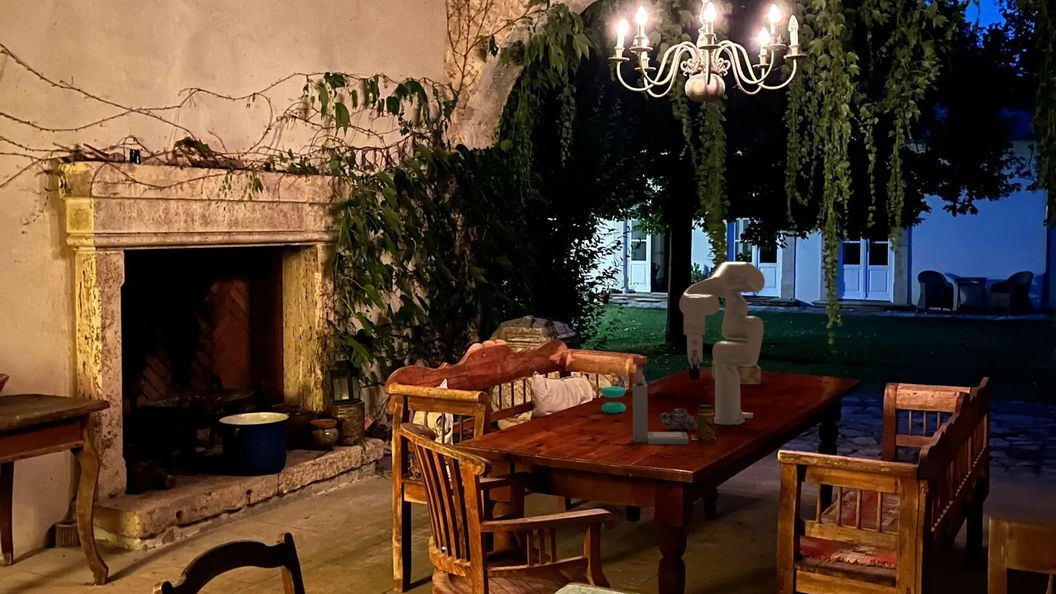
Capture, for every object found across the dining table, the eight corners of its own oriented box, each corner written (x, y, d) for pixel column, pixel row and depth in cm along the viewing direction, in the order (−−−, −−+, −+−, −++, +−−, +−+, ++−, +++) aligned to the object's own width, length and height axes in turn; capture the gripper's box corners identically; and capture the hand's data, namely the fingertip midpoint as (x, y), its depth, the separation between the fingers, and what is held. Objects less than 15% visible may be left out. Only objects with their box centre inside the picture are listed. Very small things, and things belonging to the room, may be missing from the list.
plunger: (646, 391, 373) (646, 355, 372) (647, 394, 368) (647, 357, 367) (632, 391, 374) (632, 355, 373) (633, 394, 369) (632, 357, 368)
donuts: (627, 386, 435) (623, 389, 426) (627, 409, 436) (623, 414, 426) (603, 385, 438) (599, 389, 428) (603, 409, 438) (599, 413, 429)
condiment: (716, 440, 371) (716, 406, 370) (691, 440, 372) (691, 406, 371) (714, 436, 378) (714, 403, 378) (690, 436, 379) (690, 403, 378)
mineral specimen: (655, 420, 391) (671, 398, 391) (665, 424, 399) (680, 403, 398) (680, 438, 384) (696, 416, 384) (689, 443, 392) (704, 421, 392)
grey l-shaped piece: (686, 437, 377) (685, 382, 375) (688, 444, 365) (688, 387, 363) (633, 437, 378) (632, 382, 377) (633, 444, 366) (633, 387, 365)
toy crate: (752, 378, 522) (752, 360, 521) (760, 387, 493) (760, 368, 492) (711, 378, 523) (711, 360, 523) (717, 387, 495) (717, 368, 494)
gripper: (706, 332, 366) (706, 381, 367) (703, 328, 384) (703, 375, 384) (684, 332, 367) (684, 381, 368) (682, 328, 384) (682, 374, 385)
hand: (694, 377), depth 376 cm, fingers open, 9 cm apart
